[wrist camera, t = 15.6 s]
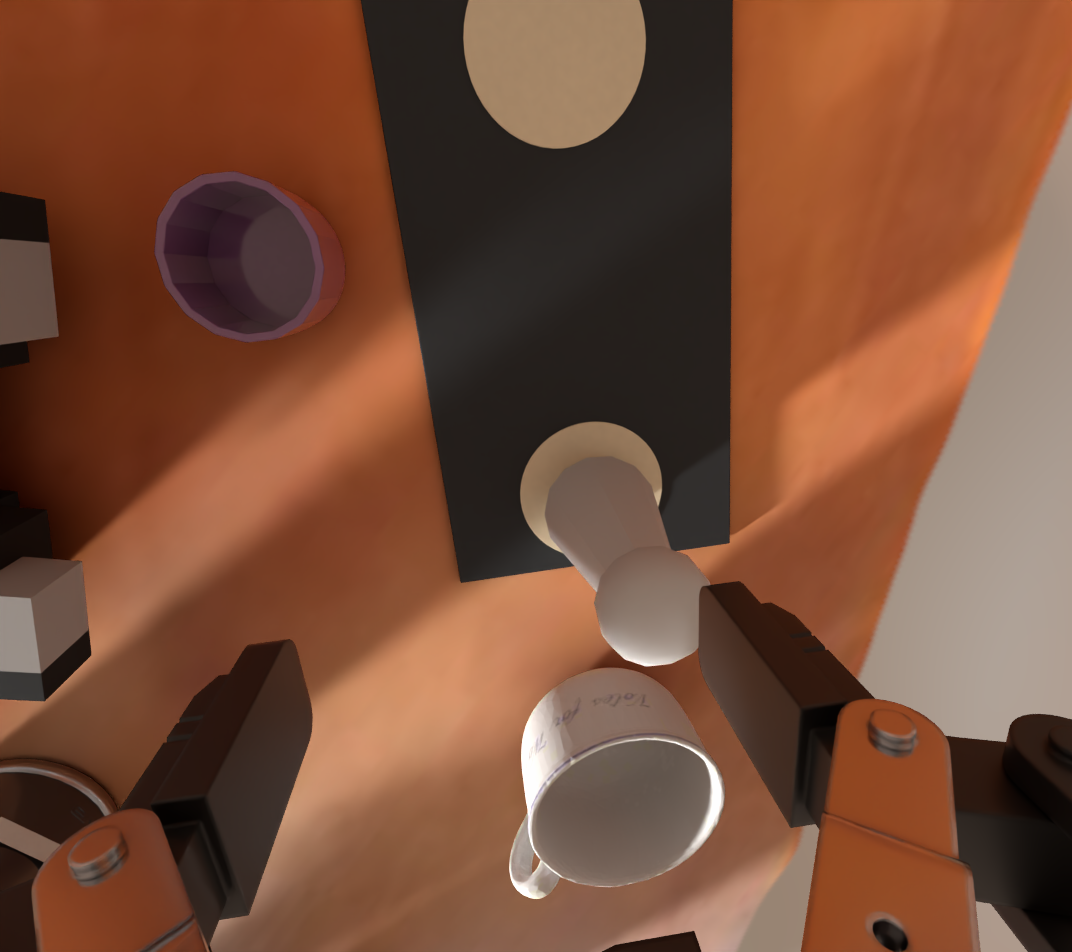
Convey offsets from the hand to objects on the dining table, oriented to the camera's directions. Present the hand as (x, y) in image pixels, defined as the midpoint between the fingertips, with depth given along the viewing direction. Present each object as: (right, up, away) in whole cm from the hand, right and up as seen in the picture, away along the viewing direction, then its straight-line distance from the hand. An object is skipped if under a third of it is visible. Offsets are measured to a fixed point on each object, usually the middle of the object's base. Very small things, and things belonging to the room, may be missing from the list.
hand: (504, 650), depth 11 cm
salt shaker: (+4, +2, +21) cm, 21 cm away
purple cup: (-12, +13, +16) cm, 24 cm away
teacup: (+3, -13, +27) cm, 30 cm away
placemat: (+3, +13, +18) cm, 22 cm away
